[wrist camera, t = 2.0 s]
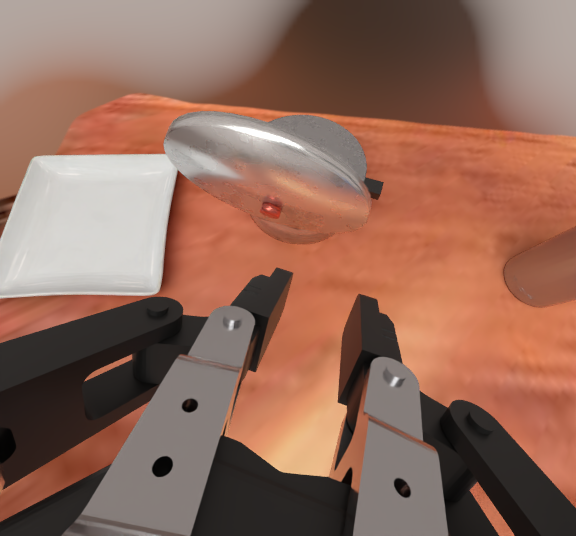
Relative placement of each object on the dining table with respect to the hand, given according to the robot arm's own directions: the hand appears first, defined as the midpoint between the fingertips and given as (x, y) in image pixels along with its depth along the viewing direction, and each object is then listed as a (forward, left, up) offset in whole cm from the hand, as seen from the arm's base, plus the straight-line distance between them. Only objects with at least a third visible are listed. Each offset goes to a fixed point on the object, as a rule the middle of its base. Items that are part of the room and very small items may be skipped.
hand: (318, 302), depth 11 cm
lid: (-4, -15, -13) cm, 21 cm away
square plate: (+21, -35, -33) cm, 52 cm away
